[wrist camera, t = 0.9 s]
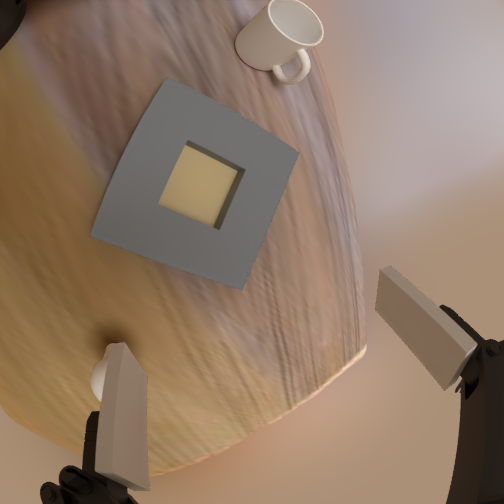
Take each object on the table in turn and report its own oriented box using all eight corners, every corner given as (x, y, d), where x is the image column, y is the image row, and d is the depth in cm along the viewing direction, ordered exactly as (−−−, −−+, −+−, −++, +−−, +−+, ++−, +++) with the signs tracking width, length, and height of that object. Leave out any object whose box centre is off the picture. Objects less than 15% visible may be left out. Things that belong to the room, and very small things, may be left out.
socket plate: (92, 232, 28) (89, 236, 25) (163, 85, 28) (167, 76, 25) (233, 283, 38) (242, 290, 35) (287, 154, 38) (299, 152, 35)
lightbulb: (86, 335, 30) (78, 386, 20) (125, 322, 32) (130, 370, 22) (104, 370, 31) (107, 424, 22) (142, 358, 34) (154, 411, 24)
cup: (272, 28, 32) (309, -1, 23) (297, 90, 36) (342, 70, 27) (226, 31, 29) (258, -6, 20) (252, 97, 33) (294, 73, 25)
